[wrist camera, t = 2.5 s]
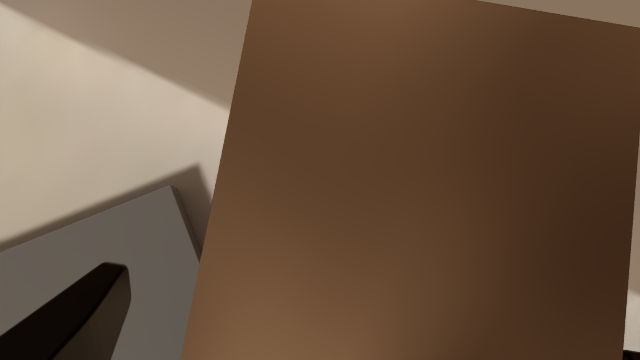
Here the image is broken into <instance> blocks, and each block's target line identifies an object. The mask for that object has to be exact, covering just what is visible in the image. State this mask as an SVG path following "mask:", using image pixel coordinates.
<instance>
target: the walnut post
mask: <svg viewBox="0 0 640 360" xmlns="http://www.w3.org/2000/svg"><path fill="white" fill-rule="evenodd" d="M639 134H640V28H637V27H631V26H625V25H620V24H613V23H608V22H602V21H596V20H590V19H584V18H578V17H571V16H566V15H560V14H554V13H548V12H542V11H536V10H530V9H524V8H518V7H512V6H506V5H500V4H494V3H488V2H482V1H476V0H252V5H251V10H250V15H249V20H248V25H247V30H246V35H245V40H244V45H243V50H242V55H241V60H240V65H239V70H238V75H237V80H236V85H235V90H234V95H233V100H232V105H231V110H230V115H229V120H228V125H227V130H226V135H225V140H224V145H223V150H222V155H221V160H220V165H219V170H218V175H217V180H216V185H215V190H214V195H213V200H212V205H211V210H210V215H209V220H208V225H207V230H206V235H205V240H204V245H203V250H202V255H201V260H200V265H199V270H198V275H197V280H196V285H195V290H194V295H193V300H192V305H191V310H190V315H189V320H188V325H187V330H186V335H185V340H184V345H183V350H182V355H181V360H622V358H623V345H624V332H625V318H626V305H627V292H628V279H629V265H630V253H631V252H630V251H631V239H632V226H633V213H634V200H635V187H636V173H637V160H638V147H639Z"/></svg>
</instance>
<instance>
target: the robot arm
mask: <svg viewBox="0 0 640 360" xmlns="http://www.w3.org/2000/svg"><path fill="white" fill-rule="evenodd" d="M130 303H131V286H130V277H129V270H128V267H127V266H126V265H124V264H120V263H114V262H103V263H101V264H99V265H98V266H96V267H95V268H94V269H92V270H91V271H90V272H88V273H87V274H85V275H84V276H83V277H81V278H80V279H78V280H77V281H76V282H74V283H73V284H71V285H70V286H69V287H67V288H66V289H64V290H63V291H62V292H60V293H59V294H57V295H56V296H55V297H53V298H52V299H51V300H49V301H48V302H46V303H45V304H44V305H42V306H41V307H39V308H38V309H37V310H35V311H34V312H32V313H31V314H30V315H28V316H27V317H25V318H24V319H23V320H21V321H20V322H18V323H17V324H16V325H14V326H13V327H12V328H10V329H9V330H7V331H6V332H5V333H3V334H2V335H0V360H111V358H112V355H113V352H114V349H115V347H116V344H117V341H118V338H119V335H120V332H121V330H122V327H123V324H124V321H125V318H126V316H127V313H128V310H129V307H130ZM622 360H640V352H636V351H630V350H623V358H622Z"/></svg>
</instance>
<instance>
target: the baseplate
mask: <svg viewBox="0 0 640 360" xmlns="http://www.w3.org/2000/svg"><path fill="white" fill-rule="evenodd" d="M201 255H202V254H201V251H200V249H199V246H198V243H197V241H196V238H195V236H194V233H193V230H192V228H191V225H190V222H189V220H188V217H187V214H186V212H185V209H184V207H183V204H182V201H181V199H180V196H179V193H178V191H177V188H175V187H173V186H171V185H167V186H165V187H162V188H160V189H157V190H155V191H152V192H150V193H147V194H145V195H142V196H140V197H137V198H135V199H132V200H130V201H127V202H125V203H122V204H119V205H117V206H114V207H112V208H109V209H107V210H104V211H102V212H99V213H97V214H94V215H92V216H89V217H87V218H84V219H82V220H79V221H77V222H74V223H72V224H69V225H67V226H64V227H62V228H59V229H57V230H54V231H51V232H49V233H46V234H44V235H41V236H39V237H36V238H34V239H31V240H29V241H26V242H24V243H21V244H19V245H16V246H14V247H11V248H9V249H6V250H4V251H1V252H0V335H2V334H3V333H5V332H6V331H7V330H9V329H10V328H12V327H13V326H14V325H16V324H17V323H18V322H20V321H21V320H23V319H24V318H25V317H27V316H28V315H30V314H31V313H32V312H34V311H35V310H37V309H38V308H39V307H41V306H42V305H44V304H45V303H46V302H48V301H49V300H51V299H52V298H53V297H55V296H56V295H57V294H59V293H60V292H62V291H63V290H64V289H66V288H67V287H69V286H70V285H71V284H73V283H74V282H76V281H77V280H78V279H80V278H81V277H83V276H84V275H85V274H87V273H88V272H90V271H91V270H92V269H94V268H95V267H96V266H98V265H99V264H101V263H103V262H114V263H120V264H124V265H126V266H127V267H128V270H129V277H130V286H131V303H130V307H129V310H128V313H127V316H126V318H125V321H124V324H123V327H122V330H121V332H120V335H119V338H118V341H117V344H116V347H115V349H114V352H113V355H112V358H111V360H181V355H182V350H183V345H184V340H185V335H186V330H187V325H188V320H189V315H190V310H191V305H192V300H193V295H194V290H195V285H196V280H197V275H198V270H199V265H200V260H201Z"/></svg>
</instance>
